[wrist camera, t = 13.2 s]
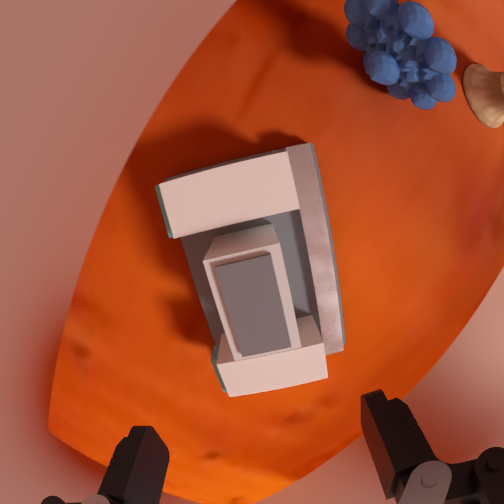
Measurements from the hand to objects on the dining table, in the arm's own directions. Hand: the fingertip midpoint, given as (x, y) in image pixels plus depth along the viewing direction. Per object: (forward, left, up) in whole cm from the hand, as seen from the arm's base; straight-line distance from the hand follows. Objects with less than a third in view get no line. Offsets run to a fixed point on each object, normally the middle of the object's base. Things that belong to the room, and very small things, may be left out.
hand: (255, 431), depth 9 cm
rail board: (0, +1, -19) cm, 19 cm away
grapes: (-16, +15, -19) cm, 29 cm away
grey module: (0, 0, -18) cm, 18 cm away
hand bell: (-14, +32, -19) cm, 40 cm away
